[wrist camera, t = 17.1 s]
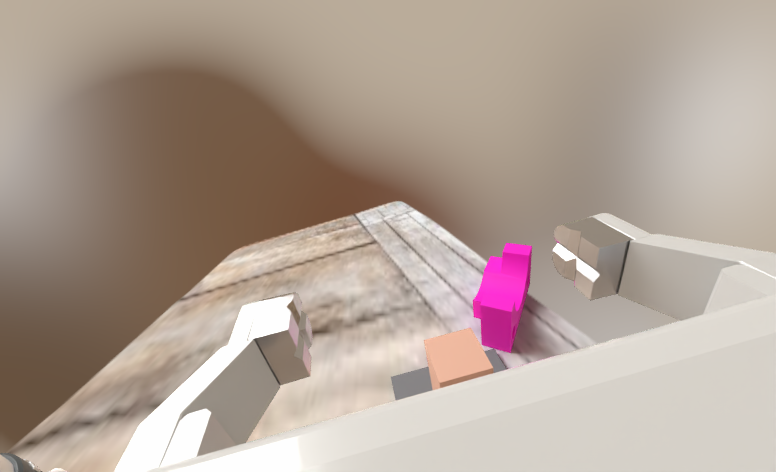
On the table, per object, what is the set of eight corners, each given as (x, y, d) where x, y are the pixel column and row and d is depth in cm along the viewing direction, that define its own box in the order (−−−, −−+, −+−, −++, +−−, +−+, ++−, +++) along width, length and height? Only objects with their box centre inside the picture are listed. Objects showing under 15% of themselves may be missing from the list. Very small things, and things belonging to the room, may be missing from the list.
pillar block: (448, 443, 32) (439, 383, 27) (434, 399, 37) (423, 340, 32) (494, 430, 33) (493, 367, 28) (475, 388, 37) (470, 327, 32)
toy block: (491, 277, 55) (490, 241, 51) (529, 284, 52) (531, 246, 48) (464, 340, 44) (460, 300, 41) (510, 353, 41) (511, 311, 38)
